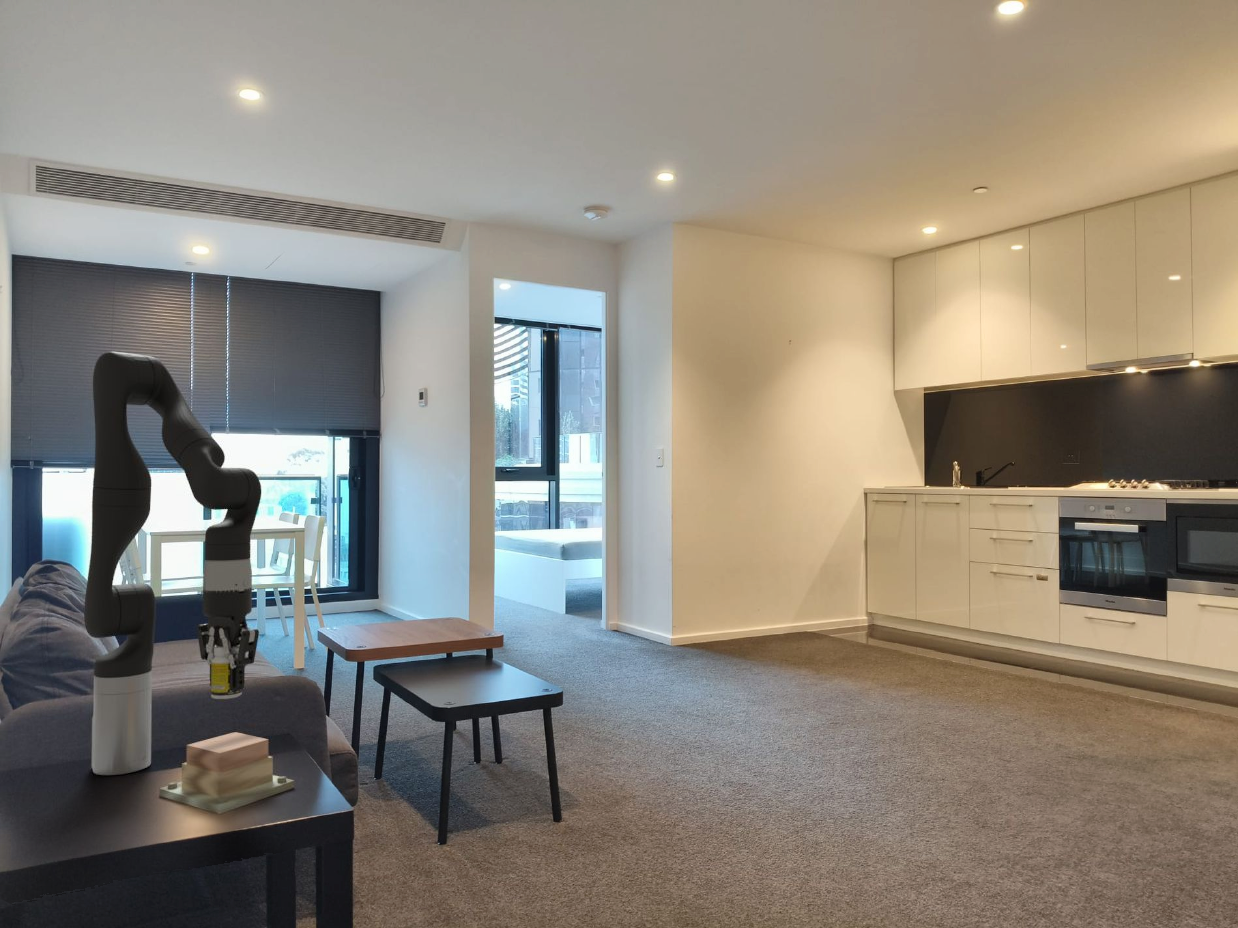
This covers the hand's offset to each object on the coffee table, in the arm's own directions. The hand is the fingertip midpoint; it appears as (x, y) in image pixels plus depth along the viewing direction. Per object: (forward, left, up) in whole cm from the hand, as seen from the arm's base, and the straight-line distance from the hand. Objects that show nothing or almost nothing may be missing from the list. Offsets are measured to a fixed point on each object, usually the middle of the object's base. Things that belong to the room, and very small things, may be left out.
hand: (226, 687), depth 147 cm
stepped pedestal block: (0, 0, -17) cm, 17 cm away
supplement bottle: (0, 0, -2) cm, 2 cm away
